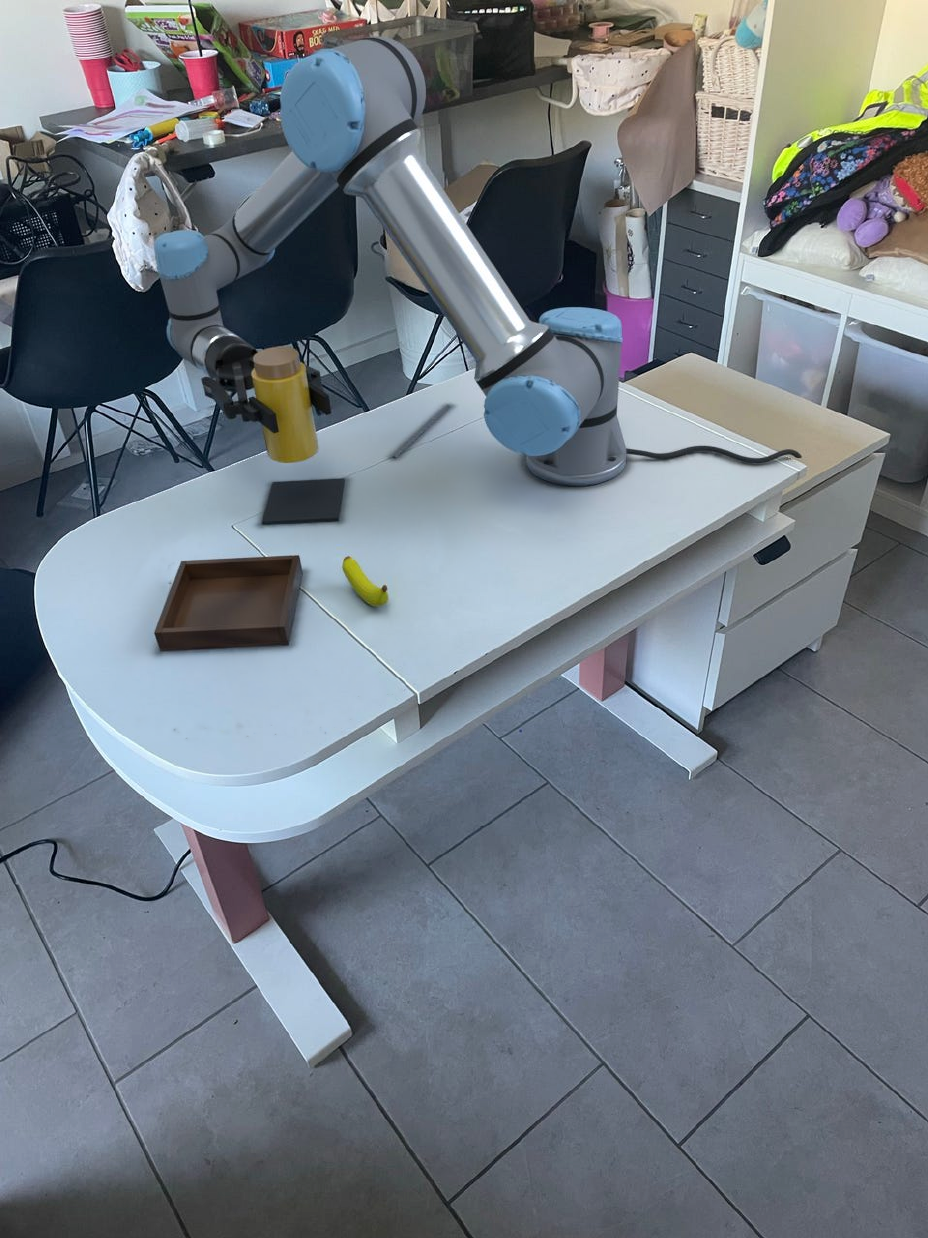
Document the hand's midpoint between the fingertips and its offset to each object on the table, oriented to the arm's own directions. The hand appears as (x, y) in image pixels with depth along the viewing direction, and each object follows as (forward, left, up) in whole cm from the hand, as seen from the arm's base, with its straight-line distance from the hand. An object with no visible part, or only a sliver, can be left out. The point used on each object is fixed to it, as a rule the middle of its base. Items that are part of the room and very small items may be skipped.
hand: (301, 413), depth 120 cm
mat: (+3, -5, -16) cm, 17 cm away
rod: (-14, -25, -17) cm, 34 cm away
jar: (+3, -4, -7) cm, 9 cm away
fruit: (-8, +19, -17) cm, 27 cm away
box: (+9, +20, -16) cm, 28 cm away
